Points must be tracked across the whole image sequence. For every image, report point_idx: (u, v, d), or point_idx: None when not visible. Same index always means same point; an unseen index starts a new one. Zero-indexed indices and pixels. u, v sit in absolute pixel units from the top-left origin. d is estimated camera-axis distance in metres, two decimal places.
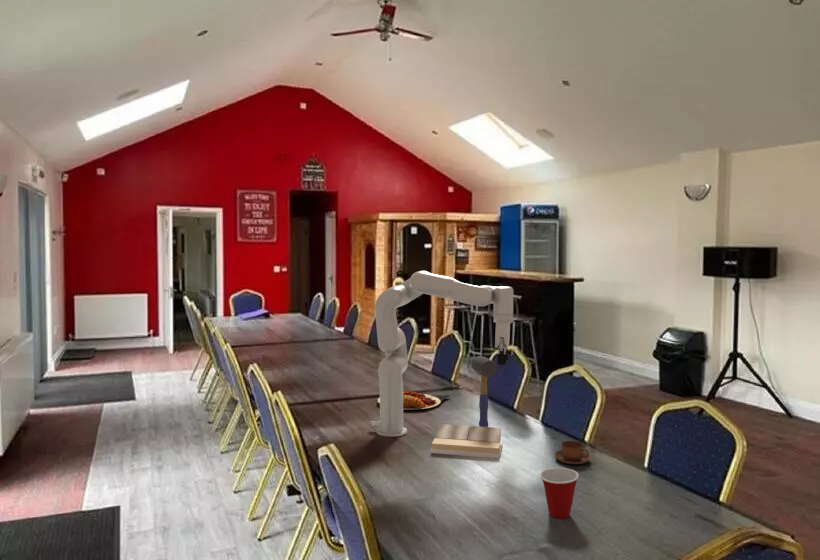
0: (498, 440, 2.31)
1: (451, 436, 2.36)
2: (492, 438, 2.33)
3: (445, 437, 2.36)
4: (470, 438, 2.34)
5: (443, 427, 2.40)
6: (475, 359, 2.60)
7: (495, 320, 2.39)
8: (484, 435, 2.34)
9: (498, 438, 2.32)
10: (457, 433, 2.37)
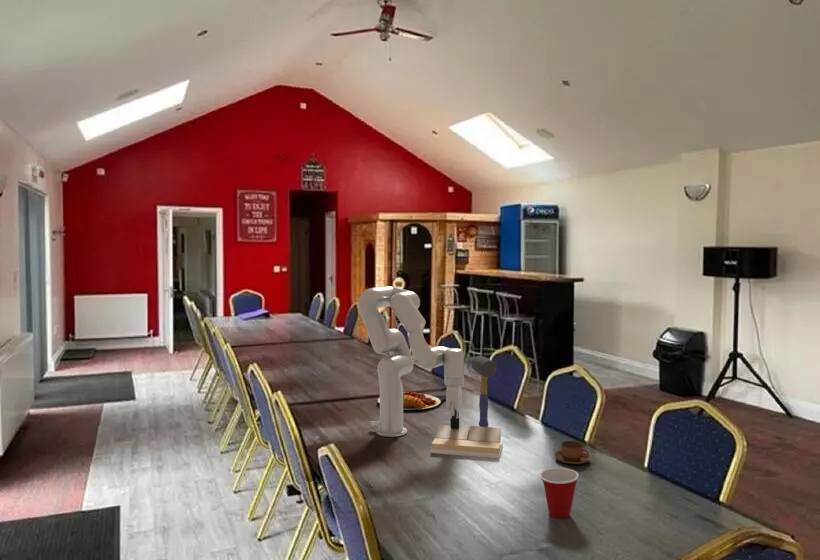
0: (498, 440, 2.31)
1: (451, 436, 2.36)
2: (492, 438, 2.33)
3: (445, 437, 2.36)
4: (470, 438, 2.34)
5: (443, 428, 2.40)
6: (475, 359, 2.60)
7: (446, 383, 2.37)
8: (484, 435, 2.34)
9: (498, 438, 2.32)
10: (457, 433, 2.37)
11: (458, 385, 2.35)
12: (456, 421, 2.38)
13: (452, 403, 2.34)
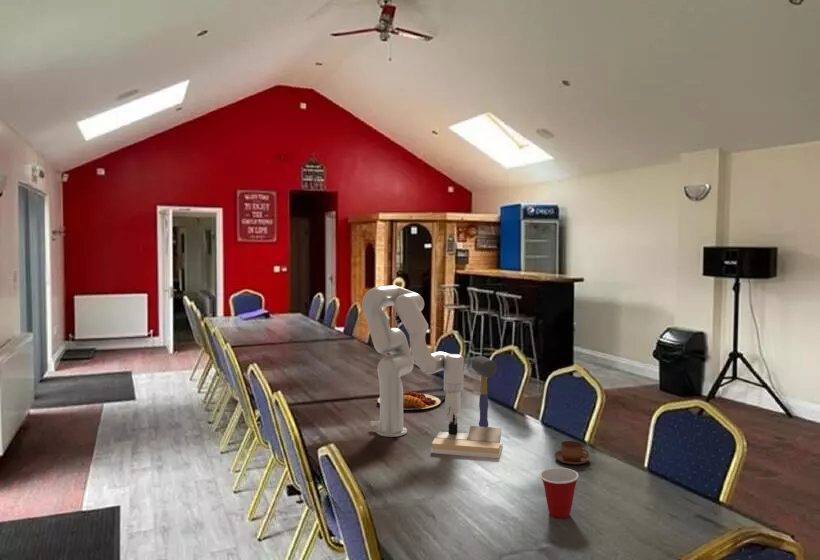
0: (498, 440, 2.31)
1: (451, 437, 2.36)
2: (492, 438, 2.33)
3: (445, 437, 2.36)
4: (470, 438, 2.34)
5: (444, 433, 2.41)
6: (475, 359, 2.60)
7: (445, 389, 2.37)
8: (484, 435, 2.34)
9: (498, 438, 2.32)
10: (457, 436, 2.37)
11: (457, 391, 2.35)
12: (454, 427, 2.38)
13: (451, 409, 2.35)
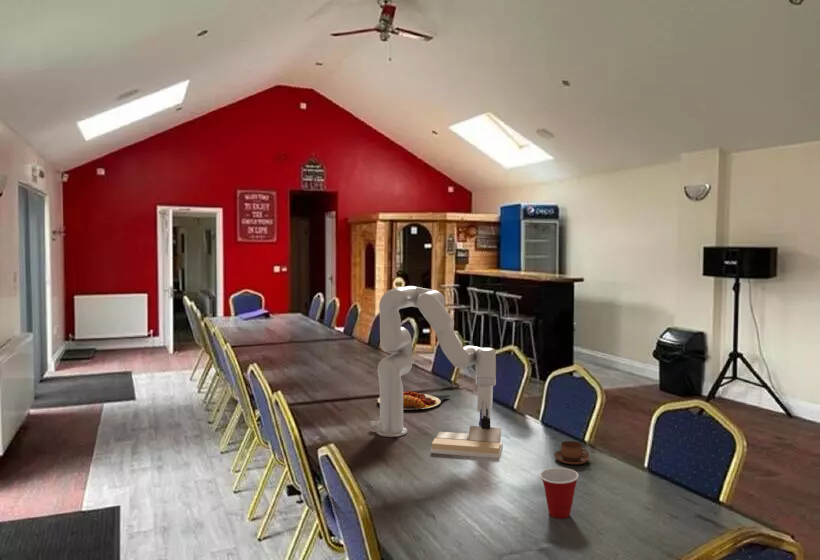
0: (498, 440, 2.31)
1: (451, 437, 2.36)
2: (492, 438, 2.33)
3: (445, 437, 2.36)
4: (470, 438, 2.34)
5: (444, 433, 2.41)
6: None
7: (477, 383, 2.34)
8: (484, 435, 2.34)
9: (498, 438, 2.32)
10: (457, 436, 2.37)
11: (490, 385, 2.32)
12: (487, 421, 2.35)
13: (484, 403, 2.32)
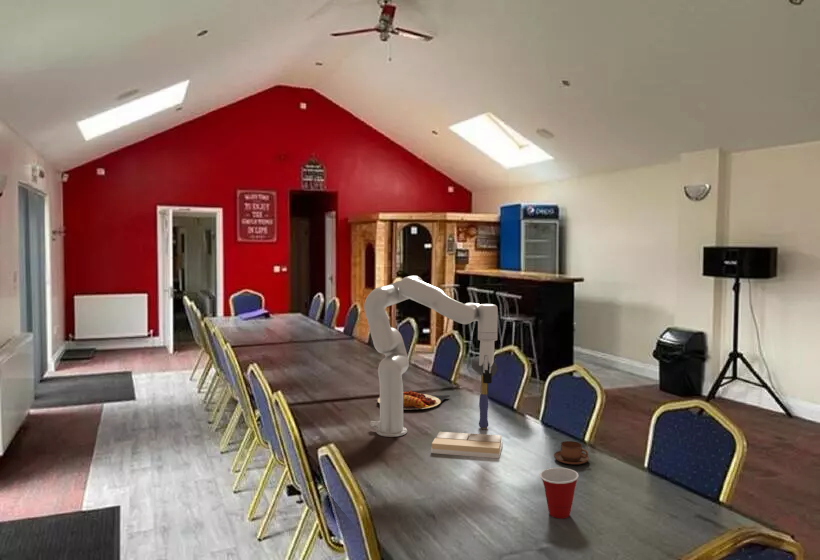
0: (498, 441, 2.31)
1: (451, 437, 2.36)
2: (492, 439, 2.33)
3: (445, 437, 2.36)
4: (470, 439, 2.34)
5: (444, 433, 2.41)
6: (475, 359, 2.60)
7: (479, 338, 2.39)
8: (484, 438, 2.35)
9: (498, 440, 2.32)
10: (457, 436, 2.37)
11: (492, 339, 2.37)
12: (489, 375, 2.41)
13: (486, 357, 2.37)
